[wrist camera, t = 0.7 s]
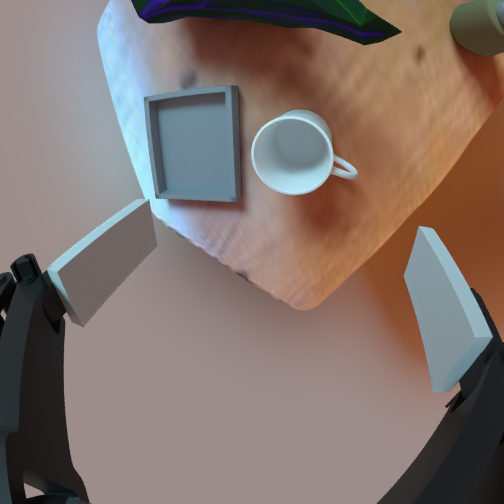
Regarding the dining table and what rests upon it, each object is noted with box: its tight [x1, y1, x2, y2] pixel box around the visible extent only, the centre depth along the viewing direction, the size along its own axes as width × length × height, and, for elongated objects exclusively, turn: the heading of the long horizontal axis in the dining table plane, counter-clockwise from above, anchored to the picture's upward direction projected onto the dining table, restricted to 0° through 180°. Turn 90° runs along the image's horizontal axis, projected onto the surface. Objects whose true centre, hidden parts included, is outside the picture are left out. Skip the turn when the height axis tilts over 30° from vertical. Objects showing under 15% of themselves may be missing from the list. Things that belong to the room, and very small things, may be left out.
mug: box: [251, 109, 358, 195], centre depth 30 cm, size 12×8×12 cm
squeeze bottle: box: [450, 0, 504, 57], centre depth 11 cm, size 8×8×18 cm
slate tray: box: [144, 86, 242, 202], centre depth 37 cm, size 14×17×3 cm
